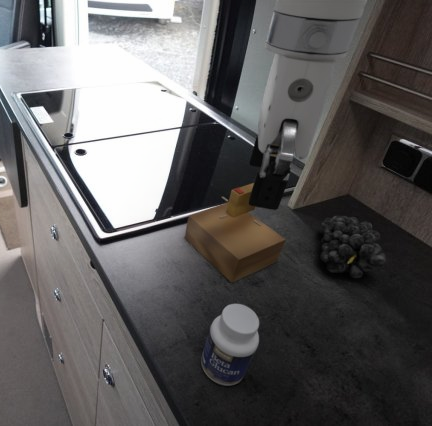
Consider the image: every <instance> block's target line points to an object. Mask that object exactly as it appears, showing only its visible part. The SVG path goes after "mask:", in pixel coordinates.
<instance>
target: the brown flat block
mask: <svg viewBox="0 0 432 426" xmlns="http://www.w3.org/2000/svg"><path fill="white" fill-rule="evenodd" d="M220 198H221V199H223V201H225V202H224V203H222V204H219V205H216V206H214V207H213V206H212V207H209V208H207V209H204V210H201V211H198V212H195V213H192V214H189V215H188V217H187V222H186V226H185V233H184V237H183V238H184V239H185V240H186V241H187V242H188V243H189V244H190V245H191V246H192V247H193V248H194V249H196V251H198V252H199V254H201V256H202V257H204V258H205V259H206V260H207V261H208V262H209V263H210V264H211V265H212V266H213V267H214V268H215V269H216V270H218V272H220V273H221V274H222V275H223V276H224V277H225V278H226V279H227V280H228V281H229V282H230V283H231V284H232V283H235V282H237V281H238V280H241V279H243V278H245V277H247V276H250V275H252V274H254V273H256V272H258V271H260V270H262V269H265V268H267V267H269V266H271V265H273V264H275V263H277V261H278V259H279V257H280V255H281V252H282V249H283V248H284V245H285V242H286V238H284V237H283V236H282V235H281V234H279V233H277V232H276V231H274V230H273V229H272V228H270V227H269V226H268V225H267V224H265V223H264V222H262V221H261V220H259V218H258V217H256V216H254V215H253V214H252V213H250V211H249V212H246V213H243V214H241V215H238V216H235V217H232V216H231V215H230V214H228V213H227V212H226V210H227V206H228V202H229V199H227V198H226V197H225V196H221V197H220Z"/></svg>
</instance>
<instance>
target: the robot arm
mask: <svg viewBox="0 0 432 426" xmlns="http://www.w3.org/2000/svg"><path fill="white" fill-rule="evenodd" d="M367 3H368V0H275V3H274V8H273V12H272V15H271V18H270V19H271V20H270V23H269V28H268V31H267V34H266V39H265V43H264V49H266V50H267V51H269V52H271V53H273V54H274V55H273V59H272V63H271V65H270V69H269V72H268V76H267V81H266V85H265V88H264V92H263V97H262V101H261V106H260V111H259V116H258V121H257V136H256V137H255V140H254V145H253V148H252V151H251V155H250V158H249V166H250V167H254V168H255V167H257V168H260V171H259V172H256V175H255V178H254V181H253V183H254V184H253V188H252V191H251V194H250V198H249V205H250V206H255V208H262V209H266V210H272V211H277V210H279V207H280V204H281V202H282V199H283V196H284V194H285V190H286V188H287V185H288V183H289V178H290V175H291V170H292V164H293V161H294V157H295V158H298V159H299V160H304V159H306V158H307V157H308V156H309V153H310V150H311V147H312V144H313V141H314V138H315V135H316V132H317V129H318V126H319V123H320V119H321V116H322V115H323V110H324V107H325V104H326V102H327V101H326V100H327V98H328V94H329V90H330V89H331V83H332V79H333V76H334V71H335V67H336V62H337V61H339V60H344V59H345V58H346V57H347V55H348V53H349V50H350V47H351V44H352V42H353V39H354V37H355V35H356V32H357V28H358V27H359V24H360V21H361V18H362V16H363V13H364V10H365V8H366V5H367Z"/></svg>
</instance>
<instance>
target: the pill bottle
mask: <svg viewBox="0 0 432 426" xmlns="http://www.w3.org/2000/svg"><path fill="white" fill-rule="evenodd" d="M259 328H260V319H259V317H258V315H257V314H256V312H255V311H254V310H253V309H251V307H248V306H247V305H245V304H242V303H241V304H240V303H230V304H228V305H226V306H225V307H224V308H223V309H222V312H221V314H220V315H218V316H217V317H215V318H214V320H213V321H212V322H211V324H210V327H209V330H208V335H207V338H206V341H205V343H204V347H203V349H202V354H201V358H200V363H201V368H202V370H203V372H204V373H205V375H206V376H207V378H208V379H210V380H211V381H212V382H214V383H216V384H218V385H221V386H225V387H226V386H228V387H229V386H230V387H231V386H235V385H236V384H237V385H238V384H239V383H240V382H241V381H242V380H243V379H244V377H245V375H246V373H247V371H248V368H249V366H250V364H251V363H252V359H253V357H254V355H255V353H256V352H257V349H258V347H259V343H260V335H259V332H258V329H259Z"/></svg>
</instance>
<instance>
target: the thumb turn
mask: <svg viewBox="0 0 432 426" xmlns="http://www.w3.org/2000/svg"><path fill="white" fill-rule="evenodd" d="M253 184H254V182H252V183H249V184H246V185H243V186H239V187H235V188H233V189H231V191H230V194H229V199H228V201H227V202H228V206H227V210H226V212H227V213H228V214H230V215H231V216H232V217H235V216H238V215H241V214H243V213H246V212H249V213H250V212H252V211H254V210H256V207H255V206H250V205H249V198H250V194H251V191H252V188H253Z"/></svg>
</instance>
